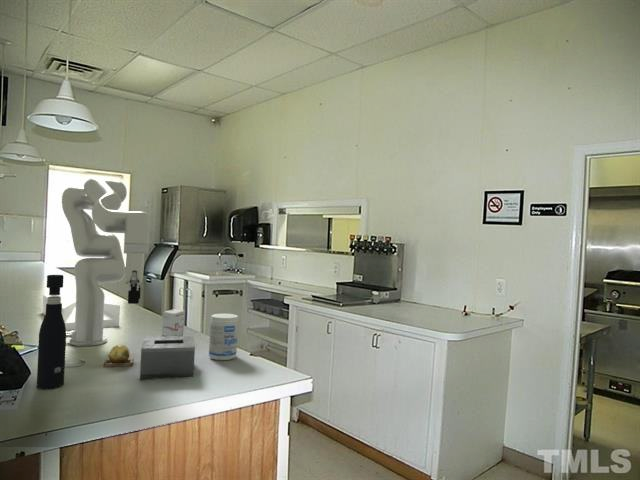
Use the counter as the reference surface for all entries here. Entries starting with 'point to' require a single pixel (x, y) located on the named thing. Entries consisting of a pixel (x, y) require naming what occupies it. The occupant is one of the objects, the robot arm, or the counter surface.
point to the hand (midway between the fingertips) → (134, 301)
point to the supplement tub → (223, 336)
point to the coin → (119, 354)
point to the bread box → (70, 308)
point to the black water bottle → (52, 339)
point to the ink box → (173, 323)
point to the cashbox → (167, 357)
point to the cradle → (109, 364)
